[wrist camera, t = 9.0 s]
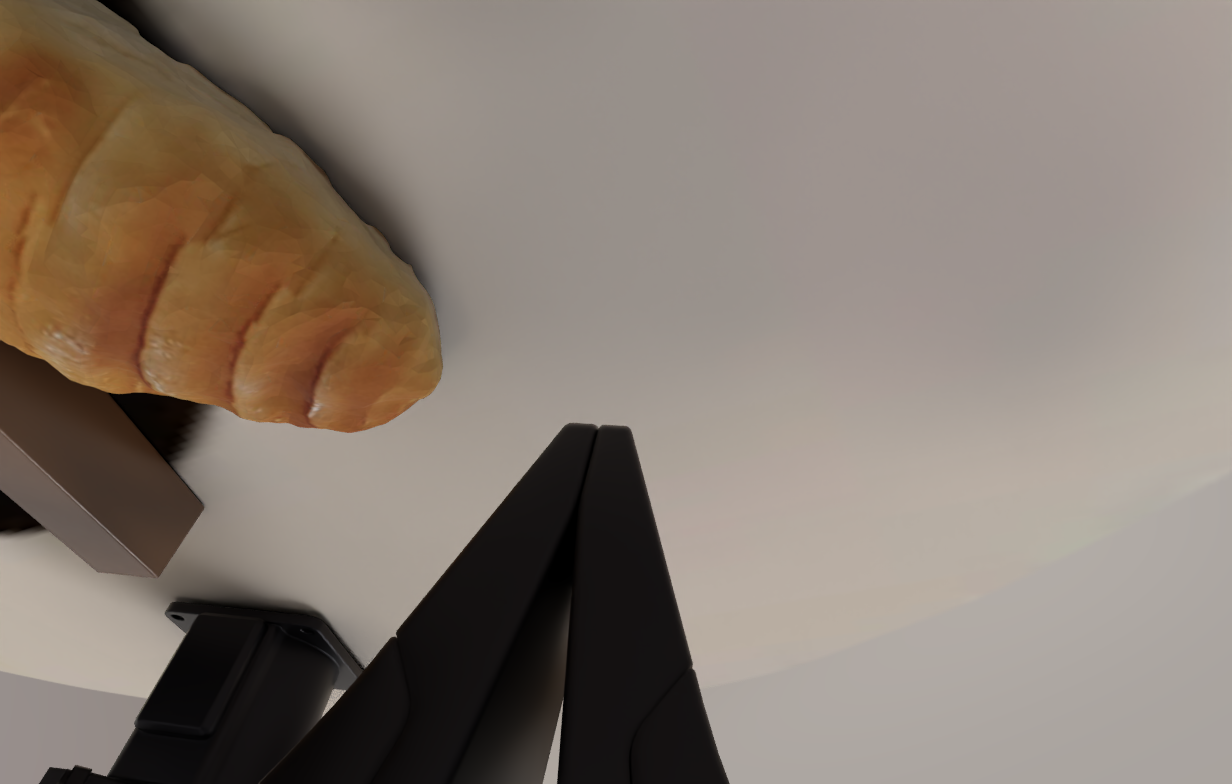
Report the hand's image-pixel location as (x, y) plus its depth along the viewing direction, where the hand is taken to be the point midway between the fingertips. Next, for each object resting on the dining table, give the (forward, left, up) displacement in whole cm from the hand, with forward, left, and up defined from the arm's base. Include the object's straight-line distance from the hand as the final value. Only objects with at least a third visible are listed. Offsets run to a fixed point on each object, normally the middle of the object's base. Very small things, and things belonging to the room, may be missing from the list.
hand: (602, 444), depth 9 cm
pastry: (+1, +8, -5) cm, 10 cm away
